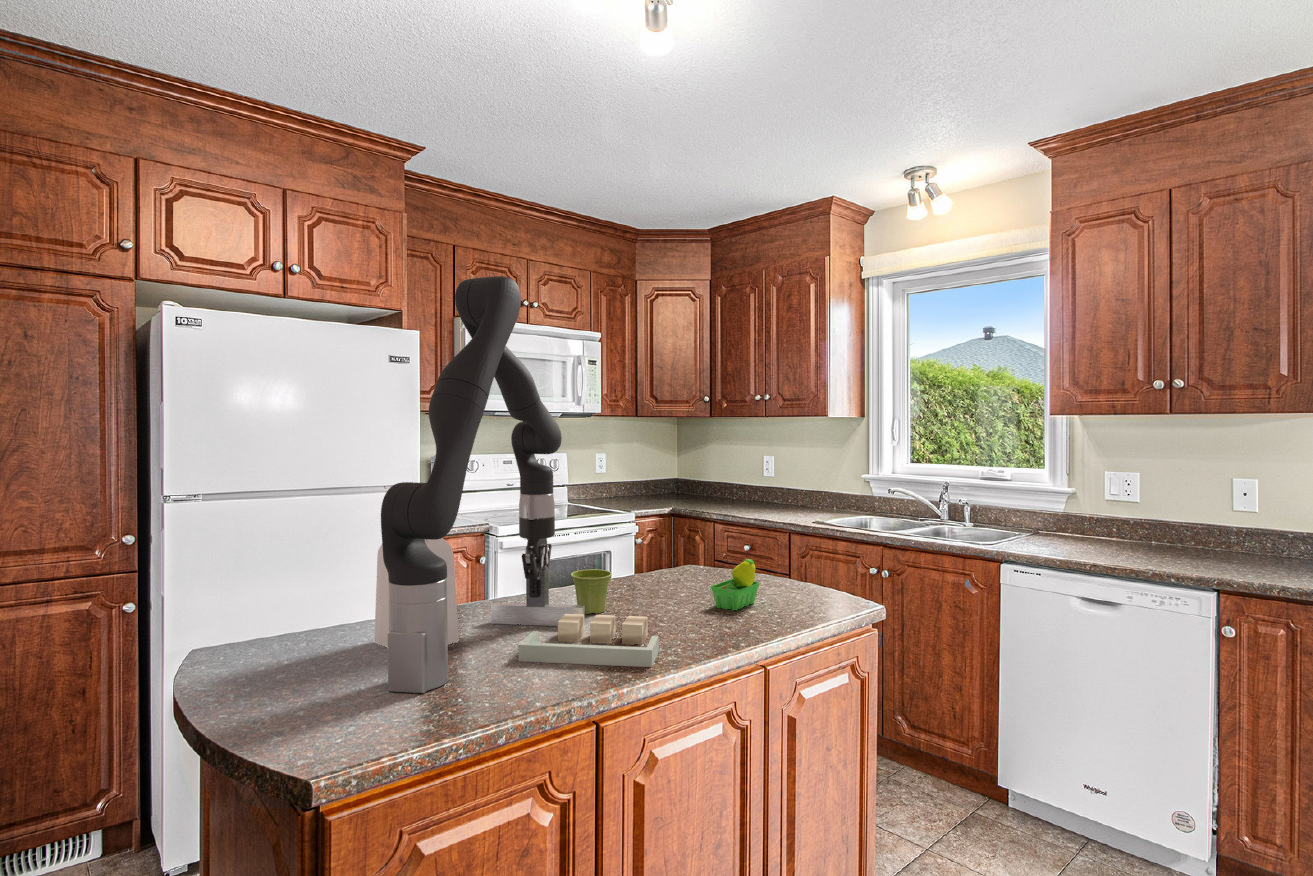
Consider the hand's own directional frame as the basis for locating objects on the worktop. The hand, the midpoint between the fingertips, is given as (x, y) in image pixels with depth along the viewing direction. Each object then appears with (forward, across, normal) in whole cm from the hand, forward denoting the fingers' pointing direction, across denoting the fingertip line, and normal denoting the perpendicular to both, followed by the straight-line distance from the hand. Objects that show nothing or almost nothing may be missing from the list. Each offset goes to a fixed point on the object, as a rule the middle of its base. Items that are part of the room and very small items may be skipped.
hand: (537, 594), depth 152 cm
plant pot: (+7, -12, +9) cm, 16 cm away
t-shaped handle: (+6, 0, 0) cm, 6 cm away
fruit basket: (+7, -21, +42) cm, 48 cm away
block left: (+7, +8, +10) cm, 14 cm away
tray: (+6, +19, +16) cm, 26 cm away
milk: (+7, +15, -20) cm, 26 cm away
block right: (+7, +8, +22) cm, 25 cm away
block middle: (+7, +8, +16) cm, 19 cm away
